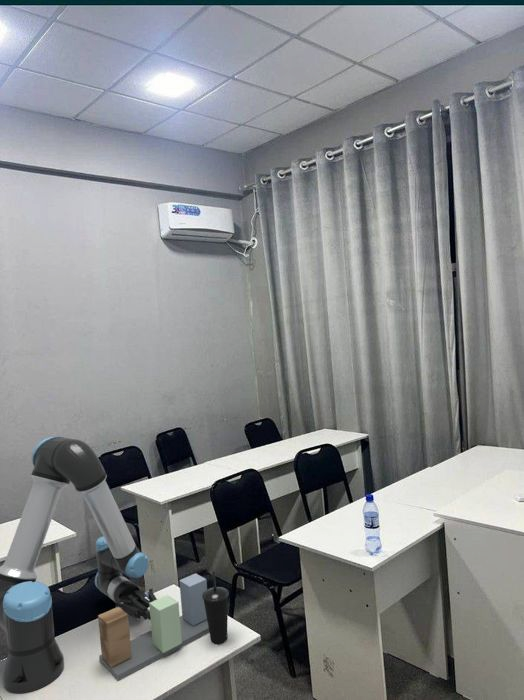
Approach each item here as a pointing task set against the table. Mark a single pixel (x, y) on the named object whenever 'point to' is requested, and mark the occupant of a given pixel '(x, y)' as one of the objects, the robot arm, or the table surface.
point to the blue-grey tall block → (193, 598)
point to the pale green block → (165, 623)
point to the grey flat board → (153, 649)
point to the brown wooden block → (114, 636)
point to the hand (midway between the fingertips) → (160, 619)
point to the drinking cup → (216, 612)
